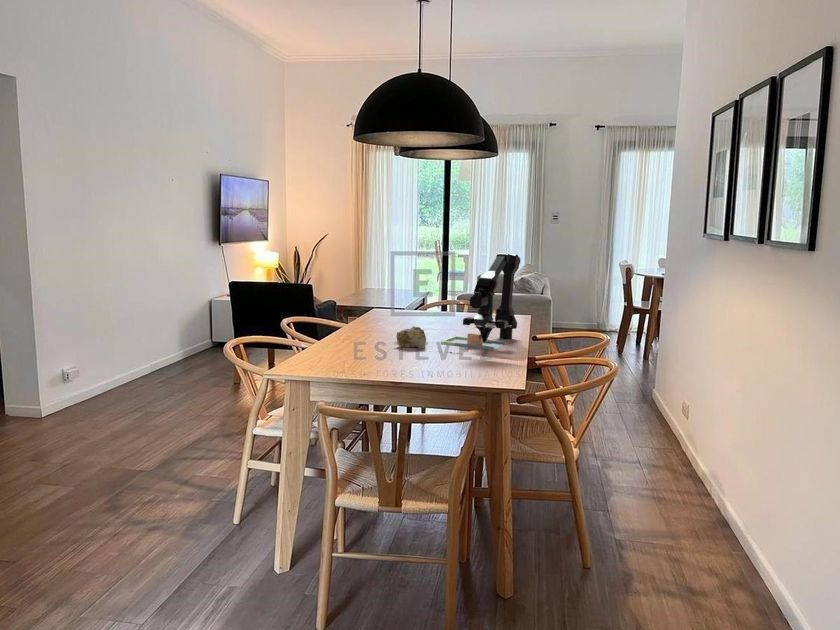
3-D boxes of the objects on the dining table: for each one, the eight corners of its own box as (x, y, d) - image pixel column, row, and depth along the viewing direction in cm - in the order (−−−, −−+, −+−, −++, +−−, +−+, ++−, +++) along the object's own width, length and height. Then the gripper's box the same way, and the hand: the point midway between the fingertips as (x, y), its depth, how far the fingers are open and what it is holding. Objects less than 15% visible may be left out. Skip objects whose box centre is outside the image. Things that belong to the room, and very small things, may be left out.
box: (454, 341, 283) (454, 335, 282) (505, 347, 272) (505, 341, 272) (440, 347, 270) (440, 341, 269) (493, 353, 259) (493, 347, 259)
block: (471, 342, 273) (471, 332, 273) (482, 343, 271) (482, 333, 270) (467, 344, 269) (467, 334, 268) (478, 345, 267) (478, 335, 266)
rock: (430, 343, 270) (423, 322, 269) (427, 348, 264) (419, 326, 262) (405, 350, 274) (397, 328, 272) (401, 355, 268) (393, 333, 266)
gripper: (458, 306, 263) (457, 343, 265) (500, 310, 255) (499, 348, 257) (468, 304, 273) (467, 339, 275) (509, 307, 264) (507, 343, 267)
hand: (484, 342), depth 268 cm, fingers closed
